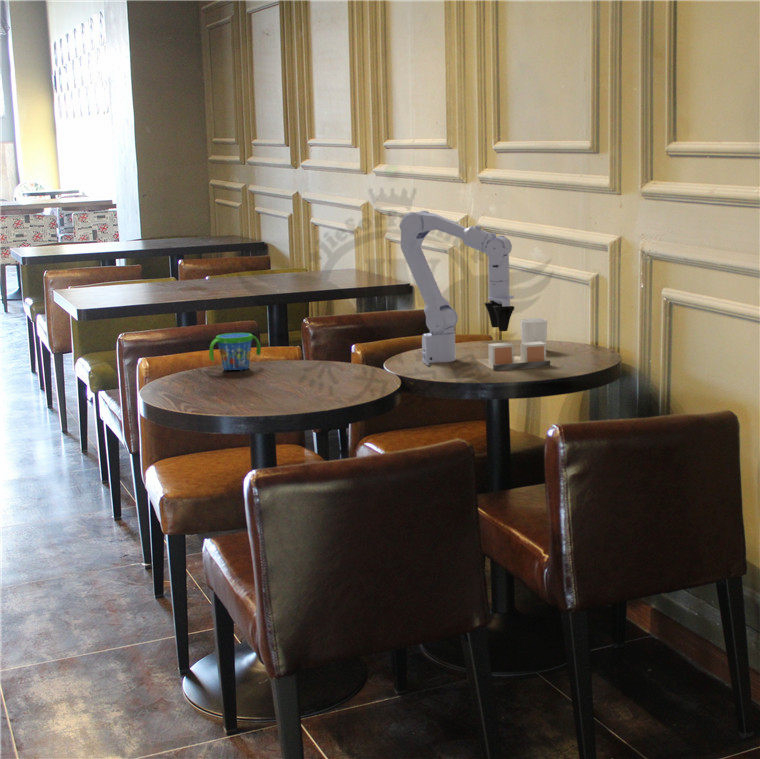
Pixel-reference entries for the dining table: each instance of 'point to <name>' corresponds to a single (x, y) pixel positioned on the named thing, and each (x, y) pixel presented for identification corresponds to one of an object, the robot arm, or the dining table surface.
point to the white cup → (534, 330)
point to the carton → (501, 353)
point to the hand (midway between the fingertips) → (499, 329)
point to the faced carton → (533, 351)
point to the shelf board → (515, 364)
